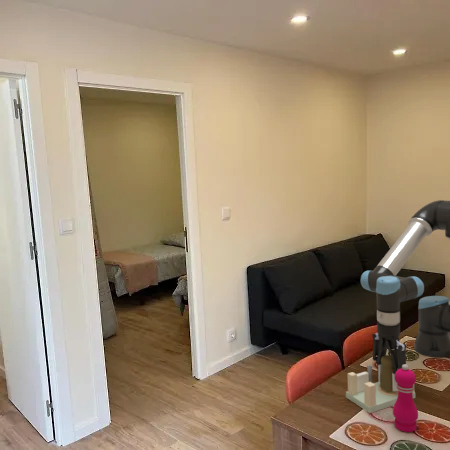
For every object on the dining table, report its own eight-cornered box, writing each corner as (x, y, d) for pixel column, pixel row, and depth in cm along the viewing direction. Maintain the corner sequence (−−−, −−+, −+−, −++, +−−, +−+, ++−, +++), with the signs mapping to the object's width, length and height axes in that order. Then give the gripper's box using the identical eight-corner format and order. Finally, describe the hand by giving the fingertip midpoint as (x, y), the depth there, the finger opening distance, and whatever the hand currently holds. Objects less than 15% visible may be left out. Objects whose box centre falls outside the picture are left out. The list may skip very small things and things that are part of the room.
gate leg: (365, 387, 159) (364, 368, 158) (369, 389, 157) (369, 370, 156) (348, 392, 156) (347, 373, 155) (352, 395, 154) (351, 375, 153)
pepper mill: (388, 421, 141) (388, 360, 139) (411, 418, 142) (410, 358, 140) (399, 434, 134) (399, 370, 132) (422, 432, 135) (422, 368, 132)
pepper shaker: (396, 383, 159) (396, 353, 157) (399, 391, 153) (399, 360, 151) (378, 382, 160) (378, 352, 159) (381, 390, 154) (380, 360, 153)
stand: (389, 383, 165) (389, 357, 164) (415, 397, 154) (415, 370, 153) (345, 397, 157) (345, 370, 156) (369, 413, 146) (369, 384, 145)
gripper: (360, 316, 161) (362, 377, 164) (401, 332, 143) (401, 401, 146) (377, 312, 164) (378, 372, 166) (418, 328, 146) (418, 395, 149)
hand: (389, 385), depth 156 cm, fingers closed on pepper shaker, 6 cm apart
